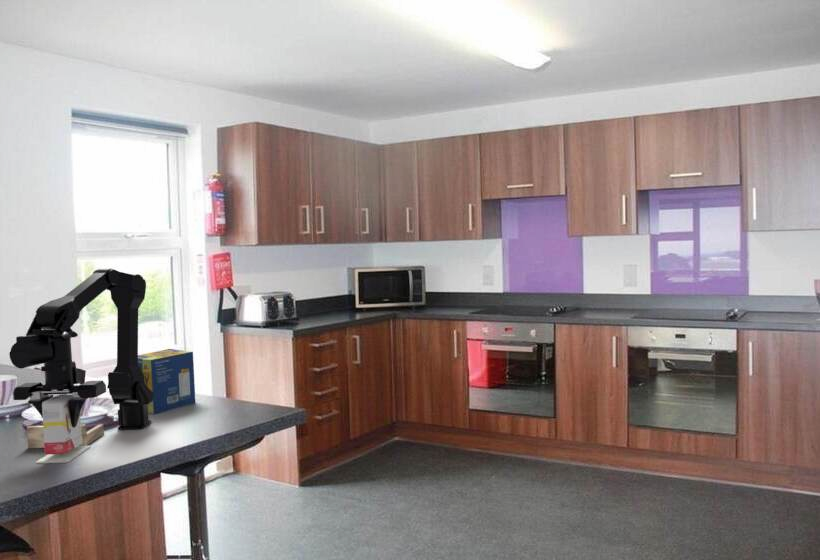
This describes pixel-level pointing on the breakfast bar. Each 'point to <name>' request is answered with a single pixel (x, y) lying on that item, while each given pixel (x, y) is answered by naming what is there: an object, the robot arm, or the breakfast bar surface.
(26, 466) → the breakfast bar surface
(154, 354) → the protein box
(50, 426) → the ink box
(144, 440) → the breakfast bar surface
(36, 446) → the shelf bay
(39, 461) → the coaster pad
